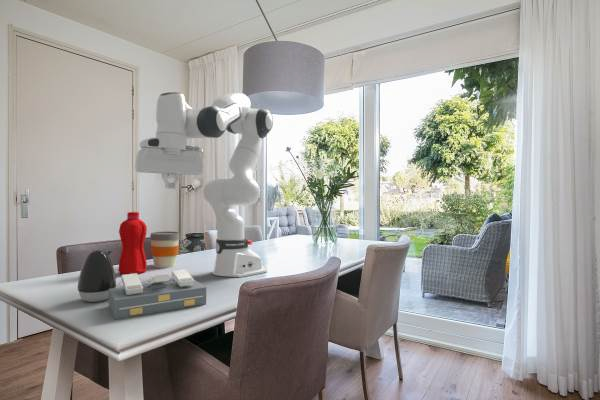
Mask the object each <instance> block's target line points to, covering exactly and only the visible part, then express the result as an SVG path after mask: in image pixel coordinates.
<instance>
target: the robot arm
mask: <svg viewBox="0 0 600 400" xmlns="http://www.w3.org/2000/svg"><path fill="white" fill-rule="evenodd" d="M251 104H252V103H251V100H250V98H249V97H248V96H247V95H246V94H245V93H242V92H230V93H229V92H228V93H225V94H223V95H221V96H220V95H219V96H218V97H216V98H215V99H214V101H213V102H212V106H210V105H209V106H206V107H197V108H196V107H194V108H192V107H191V106H189V104H188V103H187V101H186V97H185V95H184V94H183V93H181V92H176V91H175V92H173V91H172V92H171V91H170V92H169V91H168V92H164V93H161V94H159V96H158V97H157V101H156V112H155V113H156V114H155V117H156V118H155V119H156V125H157V129H156V131H155V137H150V138H145V139H143V140H141V141H140V142H139V148H140V149H139V150H138V151H137V153H136V156H135V163H134V165H135V166H134V169H135V171H136V172H137V173H145V174H161V179H162V180H163V182H164V187H165V188H164V189H174V190H176V189H177V183H179V182H178V181H179V180H180V178H181V175H186V176H188V175H189V176H202V174H204V173H205V166H204V150H203V149H202V148H201V147H199V146H192V145H187V139H203V138H209V139H210V138H212V139H217V138H220V137H222V136H223V134H225V131H227V132H228V133H230V134H234V135H236V134H240V135H241V138H240V140H239V141H238V143H237V145H236V147H235V149H234V152H233V153H232V156H231V157H230V160H229V161H228V162H229V164H228V166H229V170H230V172H231V173H232V174H233V176H232V178H217V179H214V180H209V181H208V182H207V183H205V185H204V186H203V191H202V192H203V193H202V194H203V197H204V200H205V201H206V202H207V203H208V204H209V205H210V207H211V208H212V210H213V212H214V215H215V219H216V236H217V237H216V239H215V240H216V241H215V252H216V256H215V262H214V263H215V264H214V268H213V271H212V274H213V275H214V276H217V277H233V278H243V277H249V276H253V275H254V276H255V275H259V274H264V273H268V268H267V267H266V266H263V262H262V258H261V257H260V255H258V254H257V253H256V252H255V251H253V250H252V249H251V248H250V247H249V245H250V246H251V245H252V244H253V240H252V239H246V238H245V220H244V218H243V217H242V216H241V215H239V214H238V212H237V211H236V208H235V206H238V207H239V206H240V207H244V206H250V205H254V204H256V203H257V202H258V201H259V198H260V196H261V188H260V185H259V184H258V182H257V181H256V180H255V179H254V175H255V174H254V173H255V170H256V168H257V164H258V161H259V158H260V157H261V152H262V148H263V141H262V139H264V138H266V137H267V136H268V134H269V133H270V131H271V130H272V129H273V125H274V118H273V114H272V113H271V112H270V111H271V110H268V109H265V108H251V107H252V106H251ZM169 175H173V178H175V179H174V180H173V181H172V182H169V180H168V177H169Z"/></svg>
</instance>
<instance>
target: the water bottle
mask: <svg viewBox="0 0 600 400" xmlns="http://www.w3.org/2000/svg"><path fill="white" fill-rule="evenodd" d="M126 217H127V218H126V219H125V220H124V221H122V222H121V223H120V226H119V230H118V233H119V237H120V238H119V239H120V242H121V247H122V248H121V253H120V256H119V257H120V258H119V261H118V272H119V274H121V275H126V274H135V273H137V274H143V273H145V272H147V267H148V266H147V265H148V264H147V258H146V253H145V248H144V247H145V246H144V245H145V241H146V237H147V233H148V231H147V225H146V223H145V222H144V221H143V220H141V219H140V212H138V211H130V212H127V215H126Z"/></svg>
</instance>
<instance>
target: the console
mask: <svg viewBox="0 0 600 400" xmlns="http://www.w3.org/2000/svg"><path fill="white" fill-rule="evenodd" d="M142 286H143V293H137V294H130V295H126V292H125V289H124V286H122V287H121V286H120V287H115V288H112V289H109V298H108V308H109V309H110V312H111V314H112V316H113V318H114V320H115V319H116V320H121V319H126V318H132V317H137V316H144V315H149V314H150V315H151V314H157V313H162V312H169V311H175V310H180V309H185V308H191V307H197V306H202V305H207V287H206V286H205V285H204V284H202V283H200V282H199V281H197V280H195V279H194V285H189V286H181V287H180V286H179V284H178V283H177V282H176V280H169V281H167V282H165V283H163V284H156V285H150V286H148V283H146V284H145V283H144V284H142Z"/></svg>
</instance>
